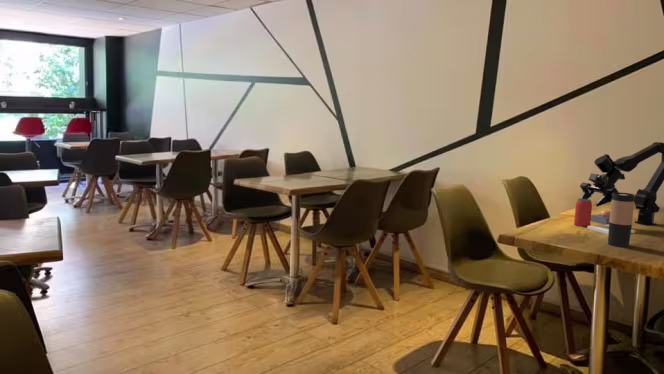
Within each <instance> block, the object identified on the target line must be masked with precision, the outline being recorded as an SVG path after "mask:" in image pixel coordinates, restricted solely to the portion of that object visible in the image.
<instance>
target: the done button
mask: <svg viewBox="0 0 664 374" xmlns="http://www.w3.org/2000/svg"><path fill="white" fill-rule="evenodd" d="M610 211H611V210H604V209H603V210H601V213H600V214H601V216H603V217H610Z"/></svg>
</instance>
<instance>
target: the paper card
mask: <svg viewBox="0 0 664 374" xmlns="http://www.w3.org/2000/svg"><path fill="white" fill-rule="evenodd" d="M587 229H588V230H591V231H595V232H598V233H600V234H601V233H602V234H605V235H608V234H609V225H605V224H599V225H590V226H587ZM635 233H636V230H635V229H632V228H631V234H635Z"/></svg>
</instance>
